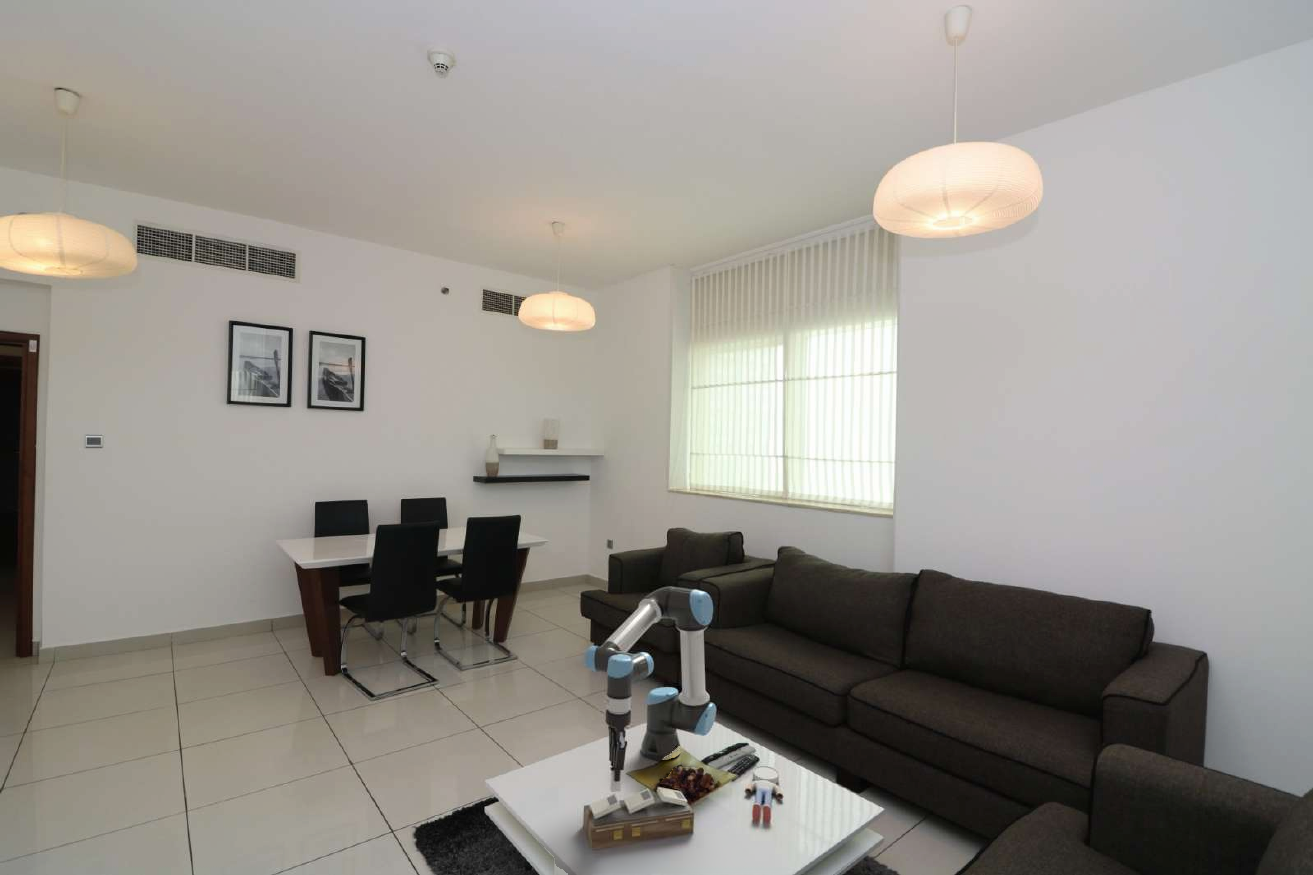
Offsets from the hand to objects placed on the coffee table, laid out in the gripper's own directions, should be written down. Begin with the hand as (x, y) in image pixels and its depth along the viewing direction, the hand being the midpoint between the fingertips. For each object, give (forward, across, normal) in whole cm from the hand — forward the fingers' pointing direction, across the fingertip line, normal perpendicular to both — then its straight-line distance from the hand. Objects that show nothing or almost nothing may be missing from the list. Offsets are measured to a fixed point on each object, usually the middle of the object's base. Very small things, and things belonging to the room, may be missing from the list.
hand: (615, 790), depth 184 cm
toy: (+13, -7, +54) cm, 56 cm away
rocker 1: (+4, 0, -3) cm, 5 cm away
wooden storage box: (+13, 0, +8) cm, 15 cm away
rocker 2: (+4, 0, +18) cm, 19 cm away
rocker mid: (+4, 0, +8) cm, 9 cm away
